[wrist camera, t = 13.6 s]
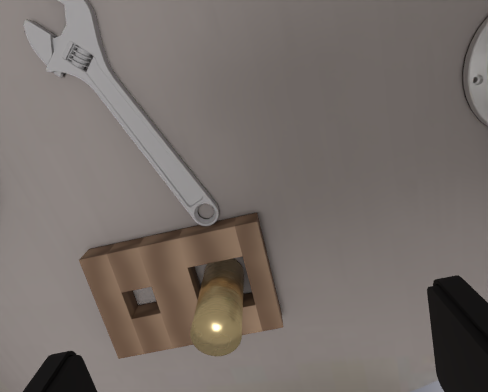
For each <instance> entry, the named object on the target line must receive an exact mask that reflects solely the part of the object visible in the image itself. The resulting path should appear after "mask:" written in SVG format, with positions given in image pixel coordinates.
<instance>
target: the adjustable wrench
mask: <svg viewBox="0 0 488 392" xmlns="http://www.w3.org/2000/svg"><path fill="white" fill-rule="evenodd" d="M58 1H59V2H61V3H63V4H64V7H65V17H66V26H65V28H64V30H63V32H62V34H61V35H60V36H58V37H57V36H56V35H55V34H53V33H52V32H50V31H48V30H47V29H45V28H44V27H42V26H40V25H39V24H37V23H36V22H34V21H31V20H27V19H26V20H25V22H24V24H23V25H24V29H25V33H26V36H27V39H28V41H29V43H30V45H31V47H32V48H33V50H34V51H35V53H36V54H37V55H38V57H39V58H40V59H41V60H42V61H43V62H44V63H45V64H46V65H47V68H46V70H45V71H48V72H54V74H55V75H57V76H59V77H61V78H62V77H63V75H64V73H67V74H70V75H72V76H75V77H77V78H79V79H81V80H83V81H84V82H85V83H87V84H88V85H89V86H90V87H91V88H92V89H93V90H94V91H95V92H96V94H97V95H98V96H99V97H100V99H101V100H102V101H103V103H104V104H105V105H106V106H107V108H108V109H109V110H110V112H111V113H112V114H113V116H114V117H115V118H116V119H117V121H118V122H119V123H120V125H121V126H122V127H123V129H124V130H125V131H126V132H127V134H128V135H129V136H130V138H131V139H132V140H133V142H134V143H135V144H136V145H137V147H138V148H139V149H140V151H141V152H142V153H143V154H144V156H145V157H146V158H147V160H148V161H149V162H150V164H151V165H152V166H153V167H154V169H155V170H156V171H157V173H158V174H159V175H160V177H161V178H162V179H163V180H164V182H165V183H166V184H167V186H168V187H169V188H170V189H171V191H172V192H173V193H174V195H175V196H176V197H177V199H178V200H179V201H180V202H181V204H182V205H183V206H184V208H185V209H186V210H187V212H188V213H189V214H190V215H191V217H192V218H193V219H194V221H195V222H196V223H198V224H199V225H201V226H210V225H212V224H214V223H215V222H216V220H217V219H218V215H219V207H218V205H217V203H216V202H215V201H214V199H213V198H212V197H211V196H210V194H209V193H208V192H207V191H206V189H205V188H204V187H203V186H202V184H201V183H200V182H199V180H198V179H197V178H196V177H195V175H194V174H193V173H192V172H191V170H190V169H189V168H188V167H187V165H186V164H185V163H184V161H183V160H182V159H181V158H180V156H179V155H178V154H177V153H176V151H175V150H174V149H173V148H172V146H171V145H170V144H169V142H168V141H167V140H166V139H165V137H164V136H163V135H162V134H161V132H160V131H159V130H158V129H157V127H156V126H155V125H154V123H153V122H152V121H151V120H150V118H149V117H148V116H147V115H146V113H145V112H144V111H143V110H142V108H141V107H140V106H139V104H138V103H137V102H136V101H135V99H134V98H133V97H132V96H131V94H130V93H129V92H128V91H127V89H126V88H125V87H124V85H123V84H122V83H121V82H120V80H119V79H118V78H117V76H116V75H115V73H114V72H113V70H112V68H111V66H110V64H109V62H108V59H107V56H106V53H105V50H104V47H103V43H102V40H101V36H100V31H99V27H98V22H97V18H96V14H95V12H94V9H93V8H92V6H91V4H90V3H89V1H88V0H58ZM76 48H78V49H77V50H76ZM74 52H76V53H75V54H74ZM91 55H93V56H94V57H92V56H91ZM73 56H74V57H73ZM72 57H73V58H72ZM89 59H92V61H90V60H89ZM88 63H90V65H89V64H88ZM85 67H88V69H85ZM202 204H209V205H211V206H212V207H213V209H214V215H213V216H212V217H211V218H209V219H203V218H201V217H200V216H199V214H198V208H199V206H201V205H202Z"/></svg>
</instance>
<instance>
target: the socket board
mask: <svg viewBox="0 0 488 392" xmlns="http://www.w3.org/2000/svg"><path fill="white" fill-rule="evenodd" d="M241 256H243V259H244V263H245V267H246V271H247V275H248V278H249V282H250V286H251V290H252V293H247V294H243V315H242V335H245V334H251V333H256V332H261V331H266V330H271V329H277V328H282V327H283V321H282V313H281V309H280V305H279V301H278V297H277V293H276V289H275V284H274V280H273V276H272V272H271V268H270V264H269V260H268V256H267V252H266V247H265V243H264V239H263V235H262V231H261V227H260V223H259V219H258V215H257V213H252V214H248V215H243V216H239V217H234V218H230V219H225V220H220V221H216V222H215V223H214V224H212V225H210V226H201V225H198V226H193V227H188V228H184V229H179V230H175V231H170V232H166V233H161V234H156V235H152V236H147V237H143V238H138V239H134V240H129V241H124V242H120V243H115V244H111V245H106V246H101V247H97V248H92V249H89V250H88V251H87V252H86V253H85V254H84V255H83V256H82V257H81V258H80V260H79V262H80V264H81V267H82V269H83V271H84V274H85V276H86V279H87V281H88V284H89V286H90V289H91V291H92V294H93V296H94V299H95V301H96V304H97V306H98V309H99V311H100V314H101V316H102V319H103V321H104V324H105V326H106V329H107V331H108V334H109V336H110V338H111V341H112V343H113V346H114V348H115V351H116V353H117V356H118V358H119V359H120V358H125V357H130V356H136V355H141V354H146V353H151V352H156V351H162V350H167V349H172V348H177V347H183V346H188V345H193V342H192V340H191V336H190V331H191V327H192V322H193V318H194V314H195V310H196V305H197V301H198V297H199V293H200V289H201V287H200V284H199V280H198V277H197V274H196V271H195V267H194V266H198V265H203V264H208V263H213V262H218V261H222V260H227V259H232V258H237V257H241ZM147 287H152V290H153V292H154V295H155V298H156V301H157V302H153V303H148V304H143V305H138V304H137V301H136V299H135V296H134V293H133V290H137V289H142V288H147Z"/></svg>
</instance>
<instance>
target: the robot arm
mask: <svg viewBox="0 0 488 392" xmlns="http://www.w3.org/2000/svg"><path fill="white" fill-rule="evenodd" d="M473 78H475V81H474V82H473ZM463 83H464V90H465V94H466V98H467V101H468V103H469V105H470V107H471V109H472V111H473V112H474V113H475V115H476V116H477V117H478V119H479V120H480V121H482V122H483V123H484V124H485V125H486V126H488V17H487V18H486V20H485V21H484V22H483V23H482V25H481V26H480V27H479V29H478V30H477V32H476V34H475V36H474V38H473V39H472V41H471V43H470V46H469V49H468V52H467V55H466V58H465V64H464V70H463ZM427 294H428V303H429V312H430V321H431V330H432V339H433V347H434V356H435V365H436V373H437V377H438V380H439V382H440V385H441V387H442V389H443V390H444V392H488V303H487V302H486V301H485V300H484V299H483V298H482V297H481V296H480V295H479V294H478V293H477V292H476V291H475V290H474V289H473V288H472V287H471V286H470V285H469V284H468V283H467V282H466V281H465V280H463V279H462V278H461V277H460V276H457V275H456V276H451V277H446V278H441V279H436V280H434V283H433V286H431V287H428V289H427ZM23 392H97V390H96V388H95V386H94V383H93V381H92V379H91V376H90V374H89V372H88V370H87V367H86V365H85V363H84V360H83V358H82V357H81V356H80V355H76V353H75V352H73V351H67V352H62V353H57V354H52V355H50V356H49V357H48V358H47V359H46V360H45V362H44V363H43V364H42V366H41V367H40V368H39V370H38V371H37V373H36V374H35V375H34V377H33V378H32V380H31V381H30V382H29V384H28V385H27V387H26V388H25V389H24V391H23Z"/></svg>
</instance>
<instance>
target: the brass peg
mask: <svg viewBox="0 0 488 392" xmlns="http://www.w3.org/2000/svg"><path fill="white" fill-rule="evenodd" d="M243 288H244V271H243V268H242V266H241V264H240V263H239V262H238V261H237V260H235V259H233V258H232V259H227V260H222V261H218V262H213V263H208V264H207V266H206V268H205V272H204V276H203V280H202V284H201V289H200V293H199V297H198V301H197V305H196V310H195V314H194V318H193V322H192V327H191V331H190V336H191V340H192V342H193V344H194V346H195V347H196V348H197V349H198V350H199V351H201V352H203V353H205V354H207V355H211V356H223V355H227V354H229V353H231V352H233V351H234V350H235V349H236V348H237V347H238V346H239V344H240V342H241V338H242V315H243Z"/></svg>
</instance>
